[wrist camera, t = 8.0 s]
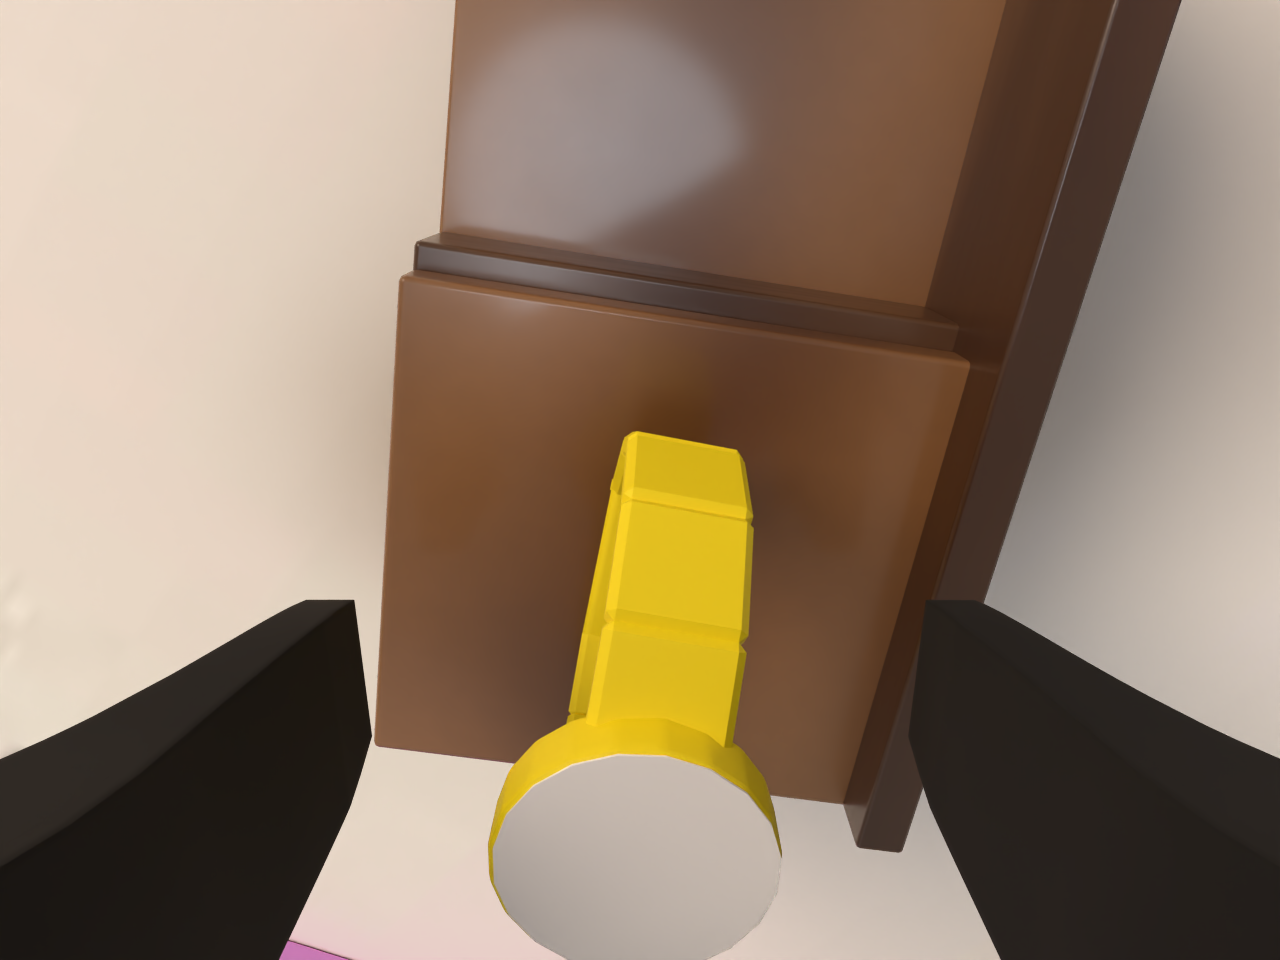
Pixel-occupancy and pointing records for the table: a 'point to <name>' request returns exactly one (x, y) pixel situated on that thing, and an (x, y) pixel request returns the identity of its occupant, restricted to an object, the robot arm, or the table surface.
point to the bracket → (305, 953)
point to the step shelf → (743, 340)
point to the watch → (649, 735)
